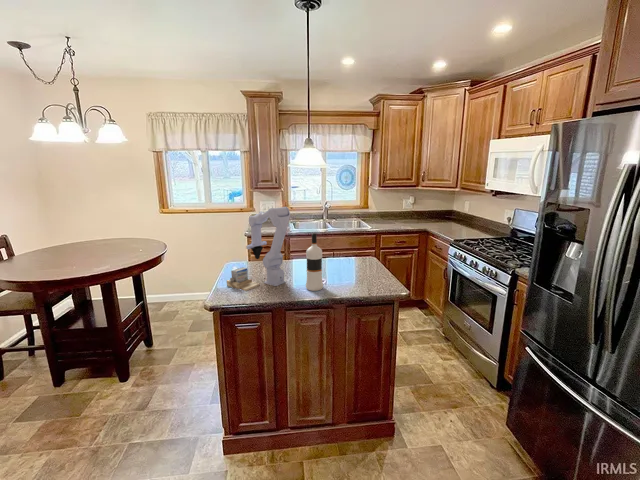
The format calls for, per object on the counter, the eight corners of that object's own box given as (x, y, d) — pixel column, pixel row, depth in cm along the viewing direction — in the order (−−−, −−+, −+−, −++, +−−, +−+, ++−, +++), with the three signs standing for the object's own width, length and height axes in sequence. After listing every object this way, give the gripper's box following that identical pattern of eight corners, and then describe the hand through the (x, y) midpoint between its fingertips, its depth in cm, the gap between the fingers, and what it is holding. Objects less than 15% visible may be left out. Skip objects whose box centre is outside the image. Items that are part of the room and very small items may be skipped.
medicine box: (237, 287, 173) (236, 271, 171) (231, 285, 176) (230, 270, 174) (248, 282, 180) (247, 268, 178) (243, 281, 182) (242, 266, 180)
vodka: (313, 292, 165) (313, 236, 159) (302, 288, 172) (301, 233, 165) (326, 288, 172) (326, 233, 165) (315, 283, 178) (314, 230, 171)
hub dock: (259, 285, 176) (259, 276, 175) (244, 291, 167) (243, 282, 166) (241, 280, 184) (241, 271, 183) (226, 286, 175) (225, 277, 174)
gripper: (260, 233, 195) (261, 254, 198) (242, 237, 183) (243, 260, 186) (268, 234, 191) (269, 256, 194) (250, 239, 179) (252, 262, 182)
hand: (257, 258), depth 190 cm, fingers closed
